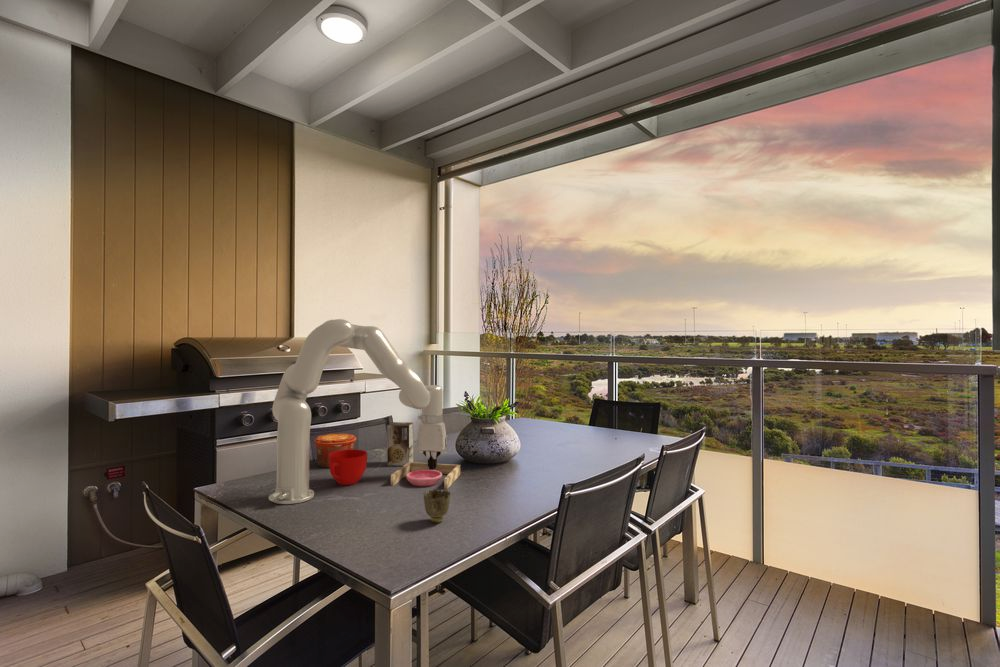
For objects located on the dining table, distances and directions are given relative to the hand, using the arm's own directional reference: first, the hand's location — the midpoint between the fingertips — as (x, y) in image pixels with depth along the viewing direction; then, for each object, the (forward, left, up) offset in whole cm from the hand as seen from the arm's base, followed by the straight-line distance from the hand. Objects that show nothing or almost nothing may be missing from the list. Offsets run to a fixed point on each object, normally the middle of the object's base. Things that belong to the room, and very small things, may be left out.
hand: (432, 468), depth 187 cm
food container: (+7, +42, -3) cm, 43 cm away
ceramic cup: (-16, +26, -3) cm, 31 cm away
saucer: (-9, 0, -3) cm, 9 cm away
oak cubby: (-6, 0, -2) cm, 7 cm away
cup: (-43, -15, -3) cm, 46 cm away
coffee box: (+13, +17, -3) cm, 22 cm away
